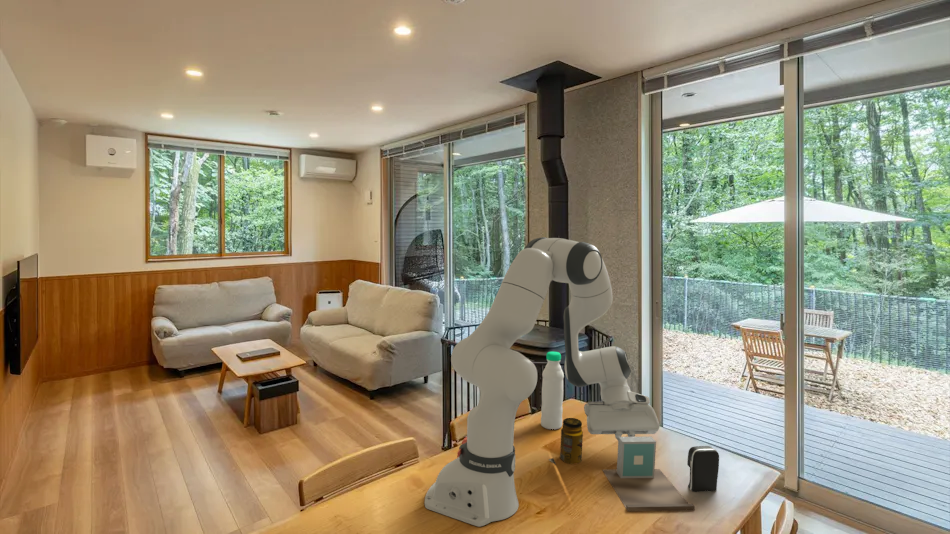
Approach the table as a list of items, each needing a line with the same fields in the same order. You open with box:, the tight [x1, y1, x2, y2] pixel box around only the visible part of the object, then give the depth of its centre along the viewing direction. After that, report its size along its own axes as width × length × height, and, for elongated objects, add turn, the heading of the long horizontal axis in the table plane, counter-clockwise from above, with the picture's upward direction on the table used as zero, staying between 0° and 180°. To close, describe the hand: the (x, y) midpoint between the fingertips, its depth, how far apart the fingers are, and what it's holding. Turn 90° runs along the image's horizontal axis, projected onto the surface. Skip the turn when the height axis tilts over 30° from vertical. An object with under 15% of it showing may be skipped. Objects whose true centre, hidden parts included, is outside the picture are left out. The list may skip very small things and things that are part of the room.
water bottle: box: [540, 351, 565, 431], centre depth 160 cm, size 7×7×25 cm
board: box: [602, 468, 696, 512], centre depth 122 cm, size 19×16×2 cm
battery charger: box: [687, 445, 720, 493], centre depth 123 cm, size 7×4×11 cm, turn 96°
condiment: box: [548, 417, 584, 466], centre depth 136 cm, size 7×8×12 cm
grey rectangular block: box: [616, 436, 657, 478], centre depth 128 cm, size 9×3×10 cm, turn 93°
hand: (628, 448), depth 134 cm, fingers closed
